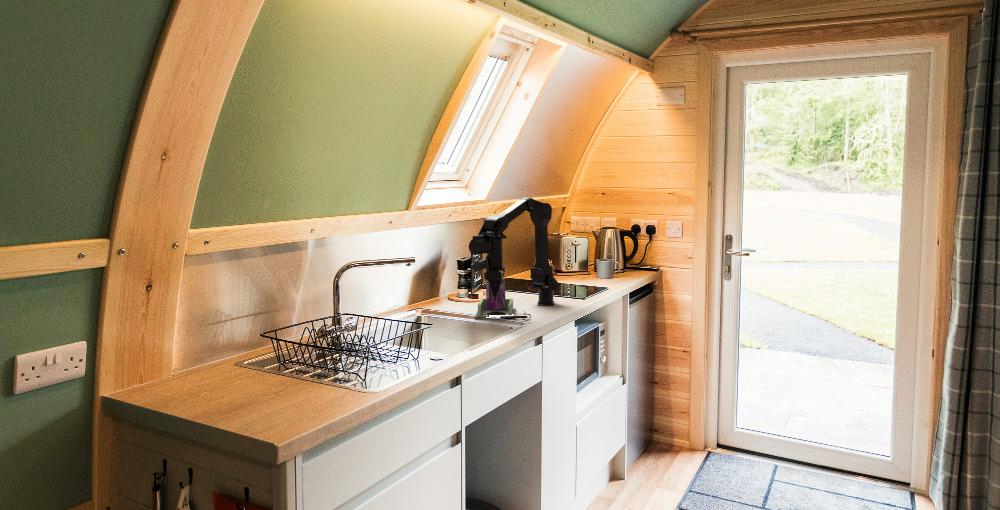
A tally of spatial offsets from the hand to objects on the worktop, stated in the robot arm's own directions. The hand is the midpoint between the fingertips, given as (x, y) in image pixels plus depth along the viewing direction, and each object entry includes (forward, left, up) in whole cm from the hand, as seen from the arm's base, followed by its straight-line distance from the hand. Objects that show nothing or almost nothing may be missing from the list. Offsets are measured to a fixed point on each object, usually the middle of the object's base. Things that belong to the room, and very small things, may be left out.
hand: (495, 294), depth 284 cm
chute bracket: (-1, 0, -8) cm, 8 cm away
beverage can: (0, 0, -6) cm, 6 cm away
